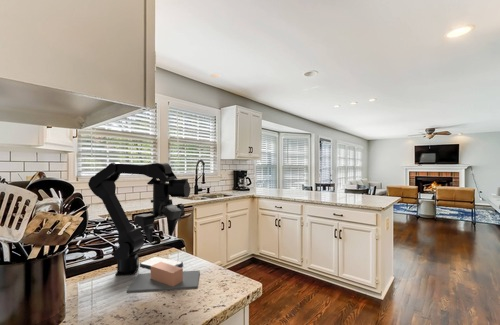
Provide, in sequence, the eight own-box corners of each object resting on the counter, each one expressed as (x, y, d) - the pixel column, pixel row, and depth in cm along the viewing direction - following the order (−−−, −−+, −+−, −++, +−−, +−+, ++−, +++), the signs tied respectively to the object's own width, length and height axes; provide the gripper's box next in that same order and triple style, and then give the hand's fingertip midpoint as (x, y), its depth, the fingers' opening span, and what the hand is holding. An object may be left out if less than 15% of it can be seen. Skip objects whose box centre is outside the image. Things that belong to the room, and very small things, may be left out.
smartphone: (138, 267, 99) (168, 274, 93) (138, 263, 99) (168, 270, 93) (155, 259, 107) (184, 265, 101) (155, 256, 107) (184, 261, 101)
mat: (126, 292, 79) (126, 290, 79) (138, 275, 91) (138, 273, 91) (197, 288, 82) (197, 286, 82) (199, 272, 94) (199, 270, 94)
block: (150, 266, 87) (172, 273, 82) (160, 261, 91) (182, 268, 86) (150, 278, 87) (172, 286, 82) (160, 273, 91) (182, 281, 86)
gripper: (154, 202, 80) (154, 250, 80) (195, 195, 96) (195, 235, 96) (133, 199, 85) (132, 244, 85) (174, 193, 102) (174, 231, 102)
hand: (161, 239), depth 92 cm, fingers open, 9 cm apart
